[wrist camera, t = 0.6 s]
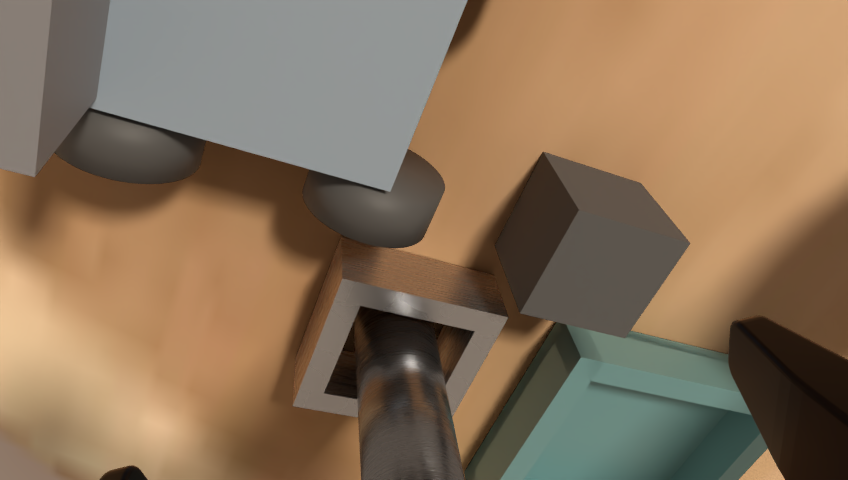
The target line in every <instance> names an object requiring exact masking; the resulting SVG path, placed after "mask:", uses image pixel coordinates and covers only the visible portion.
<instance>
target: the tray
mask: <svg viewBox="0 0 848 480" xmlns="http://www.w3.org/2000/svg"><path fill="white" fill-rule="evenodd" d="M767 449H768V447H767V445H766V443H765V441H764V439H763V437H762V435H761V433H760V431H759V429H758V427H757V425H756V423H755V421H754V419H753V417H752V415H751V413H750V411H749V409H748V407H747V405H746V403H745V401H744V399H743V397H742V395H741V393H740V391H739V389H738V387H737V385H736V383H735V381H734V379H733V377H732V375H731V372H730V369H729V364H728V354H724V353H720V352H716V351H712V350H708V349H704V348H700V347H695V346H691V345H687V344H683V343H679V342H675V341H671V340H667V339H662V338H658V337H654V336H650V335H646V334H642V333H638V332H634V331H630V332H629V333H628V335H627V336H626V338H621V337H617V336H613V335H608V334H604V333H600V332H596V331H592V330H588V329H583V328H579V327H575V326H571V325H567V324H563V323H558V322H556V324H555V325H554V327H553V329H552V330H551V332H550V333H549V335H548V337H547V338H546V340H545V342H544V343H543V345H542V346H541V348H540V350H539V351H538V353H537V355H536V356H535V358H534V359H533V361H532V363H531V364H530V366H529V368H528V369H527V371H526V373H525V374H524V376H523V377H522V379H521V381H520V382H519V384H518V386H517V387H516V389H515V390H514V392H513V394H512V395H511V397H510V399H509V400H508V402H507V403H506V405H505V407H504V408H503V410H502V412H501V413H500V415H499V416H498V418H497V420H496V421H495V423H494V425H493V426H492V428H491V429H490V431H489V433H488V434H487V436H486V438H485V439H484V441H483V442H482V444H481V446H480V447H479V449H478V451H477V452H476V454H475V455H474V457H473V459H472V460H471V462H470V464H469V465H468V467H467V468H466V470H465V472H464V474H465V479H466V480H739V479H740V477H741V476H742V475H743V474H744V473H745V472H746V471H747V470H748V469H749V468H750V467H751V466H752V465H753V464H754V462H755V461H756V460H757V459H758V458H759V457H760V456H761V455H762V454H763V453H764V452H765V451H766V450H767Z"/></svg>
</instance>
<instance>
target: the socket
mask: <svg viewBox="0 0 848 480" xmlns="http://www.w3.org/2000/svg"><path fill="white" fill-rule="evenodd" d="M360 306H364V307H368V308H373V309H377V310H382V311H386V312H391V313H395V314H400V315H404V316H409V317H413V318H418V319H422V320H427V321H431V322H435V323H440V324H444V326H443V328H442V330H441V332H440V334H439V336H438V338H437V345H438V350H439V355H440V360H441V365H442V370H443V375H444V380H445V385H446V390H447V395H448V400H449V405H450V410H451V415H452V417H453V415H454V413H455V411H456V409H457V408H458V406H459V404H460V402H461V401H462V399H463V397H464V395H465V394H466V392H467V390H468V388H469V386H470V385H471V383H472V381H473V379H474V378H475V376H476V374H477V372H478V371H479V369H480V367H481V365H482V364H483V362H484V360H485V358H486V356H487V355H488V353H489V351H490V349H491V348H492V346H493V344H494V342H495V341H496V339H497V337H498V335H499V333H500V332H501V330H502V328H503V326H504V325H505V323H506V321H507V319H508V318H509V317H508V314H507V312H506V309H505V306H504V303H503V300H502V297H501V294H500V292H499V289H498V286H497V283H496V280H495V277H494V275H492V274H488V273H484V272H480V271H476V270H472V269H468V268H464V267H460V266H457V265H453V264H449V263H445V262H441V261H437V260H433V259H429V258H425V257H421V256H417V255H413V254H409V253H405V252H401V251H397V250H393V249H389V248H384V247H377V246H373V245H368V244H365V243H361V242H358V241H356V240H353V239H350V238H346V237H342V236H341V238H340V241H339V243H338V246H337V249H336V251H335V254H334V257H333V259H332V262H331V265H330V267H329V270H328V273H327V275H326V278H325V281H324V283H323V286H322V289H321V291H320V294H319V297H318V299H317V302H316V305H315V307H314V310H313V313H312V315H311V318H310V321H309V323H308V326H307V329H306V331H305V334H304V337H303V339H302V342H301V345H300V347H299V350H298V353H297V355H296V358H295V372H294V390H293V406H294V407H300V408H306V409H312V410H318V411H323V412H329V413H335V414H341V415H347V416H353V417H358V403H357V382H356V362H355V352H350V351H345V350H342V348H343V346H344V344H345V341H346V339H347V337H348V334H349V332H350V329H351V327H352V325H353V322H354V320H355V317H356V315H357V313H358V310H359V308H360Z"/></svg>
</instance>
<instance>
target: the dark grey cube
mask: <svg viewBox="0 0 848 480" xmlns="http://www.w3.org/2000/svg"><path fill="white" fill-rule="evenodd" d="M689 245H690V242H689V241H688V240H687V239H686V237H685V236H684V235H683V234H682V233H681V231H680V230H679V229H678V228H677V226H676V225H675V224H674V223H673V222H672V220H671V219H670V218H669V217H668V216H667V214H666V213H665V212H664V211H663V209H662V208H661V207H660V206H659V205H658V203H657V202H656V201H655V200H654V199H653V197H652V196H651V195H650V194H649V192H648V191H647V190H646V189H645V188H644V186H643V185H642V184H641V183H639V182H635V181H632V180H629V179H626V178H623V177H620V176H617V175H614V174H611V173H608V172H604V171H601V170H598V169H595V168H592V167H589V166H586V165H583V164H580V163H577V162H573V161H570V160H567V159H564V158H561V157H558V156H555V155H552V154H549V153H546V152H543V153H542V155H541V157H540V159H539V161H538V163H537V165H536V167H535V169H534V171H533V172H532V174H531V176H530V178H529V180H528V182H527V184H526V186H525V188H524V190H523V192H522V194H521V196H520V198H519V200H518V202H517V203H516V205H515V207H514V209H513V211H512V213H511V215H510V217H509V219H508V221H507V223H506V225H505V227H504V229H503V231H502V232H501V234H500V236H499V238H498V240H497V242H496V244H495V248H496V251H497V253H498V256H499V259H500V261H501V264H502V267H503V269H504V272H505V275H506V277H507V280H508V283H509V285H510V288H511V291H512V293H513V296H514V299H515V301H516V304H517V307H518V309H519V312H520V313H521V314H525V315H529V316H533V317H537V318H542V319H546V320H550V321H554V322H558V323H563V324H567V325H571V326H575V327H579V328H583V329H588V330H592V331H596V332H600V333H604V334H608V335H613V336H617V337H621V338H626V336H627V335H628V333H629V332H630V330H631V329H632V327H633V326H634V325H635V323H636V322H637V320H638V319H639V317H640V316H641V314H642V313H643V311H644V310H645V309H646V307H647V306H648V304H649V303H650V301H651V300H652V298H653V297H654V295H655V294H656V293H657V291H658V290H659V288H660V287H661V285H662V284H663V282H664V281H665V279H666V278H667V277H668V275H669V274H670V272H671V271H672V269H673V268H674V266H675V265H676V263H677V262H678V261H679V259H680V258H681V256H682V255H683V253H684V252H685V250H686V249H687V248H688V246H689Z"/></svg>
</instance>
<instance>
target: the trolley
mask: <svg viewBox="0 0 848 480" xmlns="http://www.w3.org/2000/svg"><path fill="white" fill-rule="evenodd" d="M467 1H468V0H0V169H4V170H8V171H12V172H16V173H20V174H24V175H28V176H32V177H35V176H36V175H37V174H38V173H39V171H40V170H41V169H42V167H43V166H44V165H45V164H46V162H47V161H48V160H49V158H50V157H51V156H52V155H53V153H55V154H56V155H58V156H59V157H60V158H61V159H63V160H64V161H66V162H67V163H69V164H71V165H73V166H75V167H76V168H79V169H81V170H83V171H85V172H88V173H91V174H94V175H96V176H100V177H103V178H107V179H111V180H116V181H121V182H128V183H138V184H161V183H169V182H174V181H178V180H181V179H184V178H186V177H188V176H190V175H192V174H193V173H195V172H196V171H197V169H198V168H199V166H200V164H201V160H202V155H203V151H204V147H205V143H206V140H207V141H210V142H214V143H218V144H221V145H225V146H228V147H232V148H235V149H239V150H243V151H246V152H250V153H253V154H257V155H260V156H264V157H268V158H271V159H275V160H278V161H282V162H285V163H289V164H293V165H296V166H300V167H303V168H307V169H309V172H308V175H307V178H306V181H305V184H304V187H303V192H302V193H303V199H304V202H305V204H306V206H307V207H308V209H309V210H310V211H311V212H312V214H313V215H314V216H315V217H316V218H318V219H319V220H320V221H321V222H322V223H324V224H325V225H326V226H328V227H329V228H331V229H333V230H334V231H336V232H338V233H340V234H342V235H344V236H346V237H348V238H350V239H353V240H356V241H358V242H361V243H365V244H368V245H373V246H377V247H384V248H403V247H409V246H412V245H415V244H417V243H418V242H420V241H421V240H422V239H423V237H424V235H425V233H426V231H427V229H428V227H429V224H430V222H431V220H432V218H433V215H434V213H435V211H436V209H437V207H438V204H439V202H440V200H441V198H442V195H443V193H444V191H445V184H444V181H443V179H442V177H441V175H440V174H439V173H438V171H437V170H436V169H435V168H434V167H433V166H432V165H431V164H430V163H428V162H427V161H426V160H425V159H423V158H422V157H420V156H419V155H417V154H416V153H414V152H412V151H411V150H409V149H408V147H409V144H410V142H411V139H412V137H413V134H414V132H415V129H416V127H417V125H418V122H419V120H420V117H421V115H422V112H423V110H424V107H425V105H426V102H427V100H428V97H429V95H430V92H431V90H432V87H433V85H434V82H435V80H436V77H437V75H438V72H439V70H440V67H441V65H442V63H443V60H444V58H445V55H446V53H447V50H448V48H449V45H450V43H451V40H452V38H453V35H454V33H455V30H456V28H457V25H458V23H459V20H460V18H461V15H462V13H463V10H464V8H465V6H466V3H467Z"/></svg>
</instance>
